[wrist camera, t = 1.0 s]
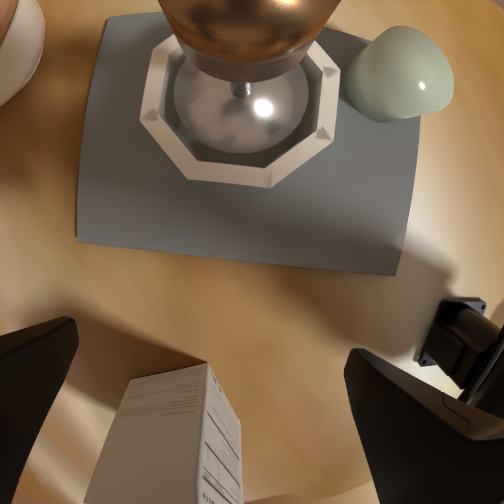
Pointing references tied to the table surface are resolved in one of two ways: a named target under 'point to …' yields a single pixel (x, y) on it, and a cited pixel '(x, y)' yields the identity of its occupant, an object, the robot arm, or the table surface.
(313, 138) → the octagonal white frame
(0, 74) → the lidded jar
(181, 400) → the supplement box
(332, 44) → the slate tray
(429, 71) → the sage green dome
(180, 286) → the table surface
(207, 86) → the coffee tamper
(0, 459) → the robot arm
